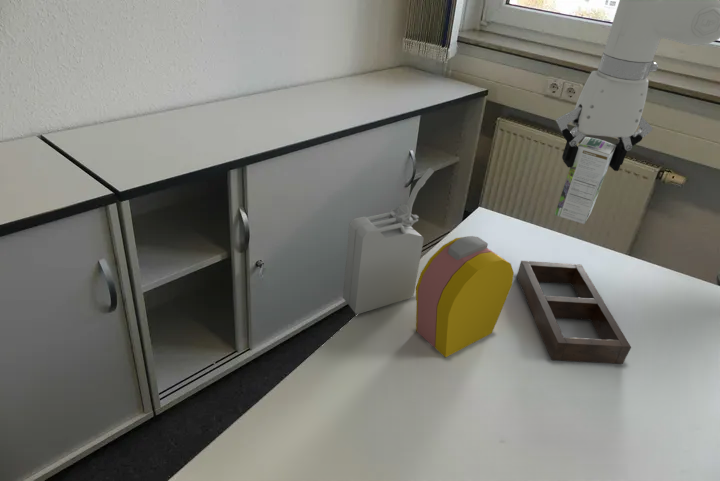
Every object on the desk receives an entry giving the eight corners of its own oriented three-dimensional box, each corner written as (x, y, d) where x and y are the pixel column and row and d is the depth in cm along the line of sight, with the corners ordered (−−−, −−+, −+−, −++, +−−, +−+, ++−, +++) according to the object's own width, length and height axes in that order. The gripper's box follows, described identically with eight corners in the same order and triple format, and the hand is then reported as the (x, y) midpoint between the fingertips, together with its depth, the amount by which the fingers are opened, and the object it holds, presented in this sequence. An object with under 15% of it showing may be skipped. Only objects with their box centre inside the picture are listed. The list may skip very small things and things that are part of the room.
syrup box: (561, 204, 106) (583, 134, 99) (592, 213, 104) (617, 143, 96) (554, 215, 102) (576, 144, 94) (585, 226, 100) (611, 153, 92)
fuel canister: (410, 279, 107) (429, 164, 93) (424, 293, 103) (447, 176, 90) (341, 298, 100) (352, 177, 87) (354, 315, 97) (367, 191, 83)
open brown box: (575, 280, 112) (581, 264, 110) (622, 364, 92) (631, 347, 90) (516, 276, 111) (521, 260, 109) (551, 360, 91) (558, 342, 89)
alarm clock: (465, 303, 102) (486, 220, 92) (498, 329, 97) (524, 244, 87) (405, 331, 94) (421, 244, 84) (437, 361, 89) (458, 271, 79)
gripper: (664, 65, 91) (628, 160, 101) (563, 57, 91) (537, 153, 100) (687, 78, 85) (646, 178, 95) (579, 70, 84) (548, 171, 94)
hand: (590, 165), depth 97 cm, fingers closed on syrup box, 7 cm apart
